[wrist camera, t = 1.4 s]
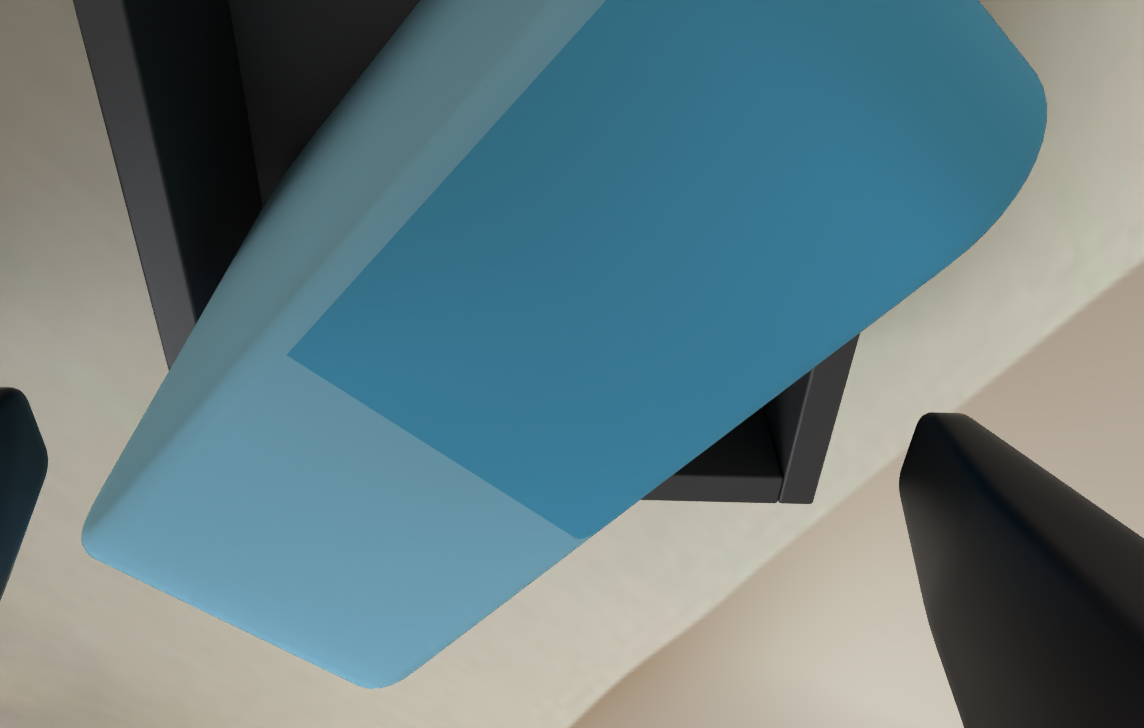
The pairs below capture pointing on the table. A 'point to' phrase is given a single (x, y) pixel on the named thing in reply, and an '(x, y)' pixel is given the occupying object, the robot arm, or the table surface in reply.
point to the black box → (272, 143)
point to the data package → (546, 295)
